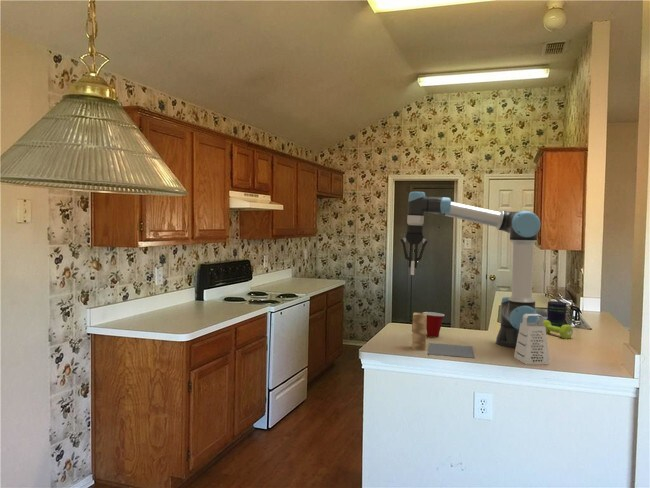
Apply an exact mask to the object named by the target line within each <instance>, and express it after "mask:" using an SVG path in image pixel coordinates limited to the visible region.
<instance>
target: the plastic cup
mask: <svg viewBox="0 0 650 488" xmlns="http://www.w3.org/2000/svg"><path fill="white" fill-rule="evenodd" d="M422 313H427V322H426V337H429V338H438V337H439V336H440V331H441V327H442V324H443V320H444V317H445V314H444V313H439V312H432V311H425V312H424V311H423V312H422Z"/></svg>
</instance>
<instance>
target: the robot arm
mask: <svg viewBox="0 0 650 488" xmlns="http://www.w3.org/2000/svg"><path fill="white" fill-rule="evenodd" d="M425 213H427V214H428V213H429V214H430V213H431V214H434V215H440V216H445V217H450V218H454V219H458V220H463V221H467V222H471V223H475V224H479V225H480V224H481V225H486V226H490V227H494V228H495V229H496V230H498V231H502V232H506V233H508V234H509V241H510V243H512V274H511V275H512V276H511V277H512V278H511V295H510V296H504V297H502V299H501V302H500V305H501V306H500V308H501V309H500V327H499V330H498V332H497V333H498V334H497V335H496V338H495V339H496V341H495V343H496V344H497V345H500V346H501V347H502V346H503V347H509V348H514V349H516V344H517V338H518V333H519V328H520V323H523V315H524V314H538V313H537V310H536V299H535V298H534V297H533V274H534V273H533V269H534V268H533V267H534V266H533V265H534V245H535V244H536V242H538V233H539V231H540V229H541V226H542V225H541V220H540V218H539V216H538V215H537V214H536V213H534V212H532V211H529V210H518V211H509V210H503V209H502V210H500V211H497V210H493V209H488V208H485V207H484V208H483V207H479V206H473V205H471V204H464V203H460V202H455V201H452V199H451V197H445V196H428V195H427V196H426V192H424V191H411V192H409V194H408V202H407V221H406V224H408V225H406V234H405V237H402V238H401V239H400V242H401V244H402V247H403V252H404V253H403V254H404V259H405V260H406V261H408V268H410V276H414V275H415V269H417V268H418V261H421V260H422V257H423V255H424V251H425V248H426V246H427V244H428V242H429V240H428V239H426V238H425V236H424V226H423V225H424V221H425V220H424V218H425ZM406 241H407V242H408V244H409V251H408V249H407V245H406ZM421 242H422V246H421V249H420V252H419V245H420V243H421ZM414 245H415V246H414ZM413 247H414V260H413ZM408 252H409V253H408ZM538 322H539V316H528V317H527V323H538Z"/></svg>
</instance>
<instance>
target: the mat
mask: <svg viewBox="0 0 650 488" xmlns="http://www.w3.org/2000/svg"><path fill="white" fill-rule="evenodd" d="M474 352H475V351H474V348H473V346H472V345H470V346H469V345H461V344H459V345H458V344H449V343H448V344H447V343H446V344H445V343H437V342H436V343H435V342H434V343H433V342H430V343H428V352H427V353H428V356H429V355H431V356H432V355H433V356H441V355H443V357H454V358H455V357H457V358H466V359H468V358H469V359H476V356H475V353H474Z"/></svg>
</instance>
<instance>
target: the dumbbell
mask: <svg viewBox="0 0 650 488" xmlns="http://www.w3.org/2000/svg"><path fill="white" fill-rule="evenodd" d="M543 326H546V335H547V334H550V332H553V333H555V334H559V336H560V338H562V339H564V340H569V339H571V338H572V335H573V333H574V332H573V330H574V329H573V328H572V327H573V326H572V325H571V324H566V325H562V326H561V328H560V327H556V326H552V325H551V323H550V321H548V320H547V319H543Z"/></svg>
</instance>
